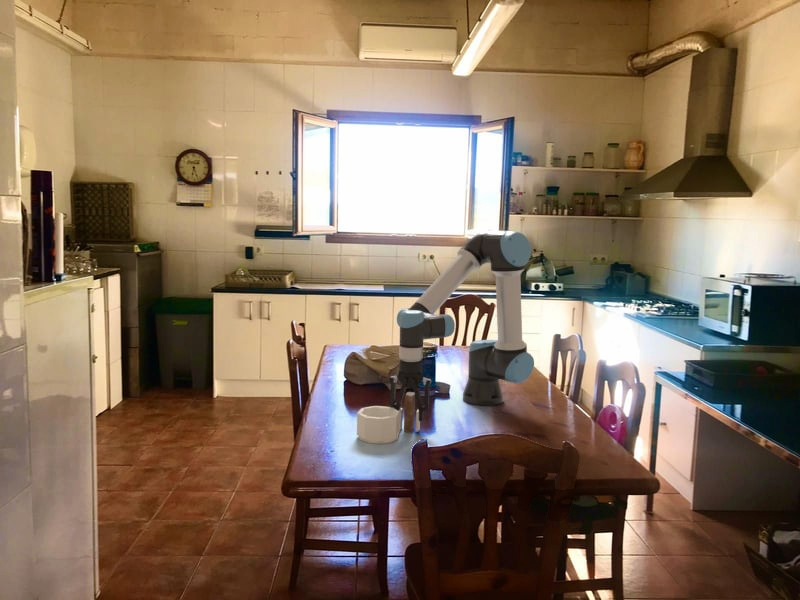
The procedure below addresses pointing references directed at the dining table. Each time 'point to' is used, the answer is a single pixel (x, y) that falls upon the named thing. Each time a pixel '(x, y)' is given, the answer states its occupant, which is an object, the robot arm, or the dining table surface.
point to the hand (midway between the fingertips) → (408, 429)
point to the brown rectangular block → (409, 412)
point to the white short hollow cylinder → (378, 424)
